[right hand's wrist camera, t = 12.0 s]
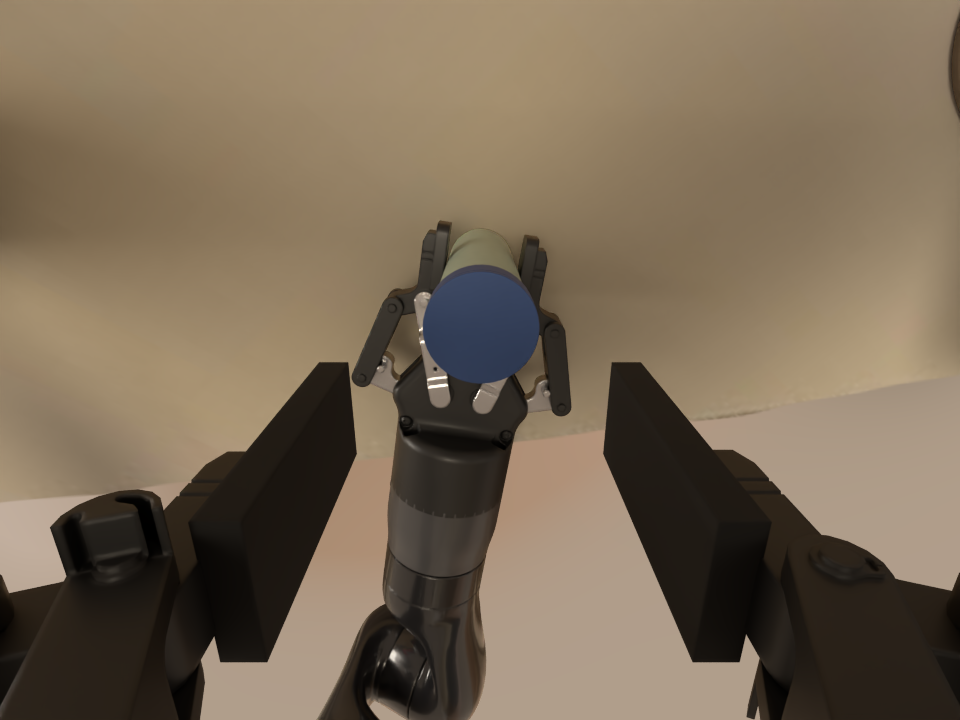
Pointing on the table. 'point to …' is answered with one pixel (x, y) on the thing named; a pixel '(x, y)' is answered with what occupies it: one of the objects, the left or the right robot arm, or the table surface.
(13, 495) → the table surface
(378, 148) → the table surface
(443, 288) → the lid
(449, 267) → the bottle
